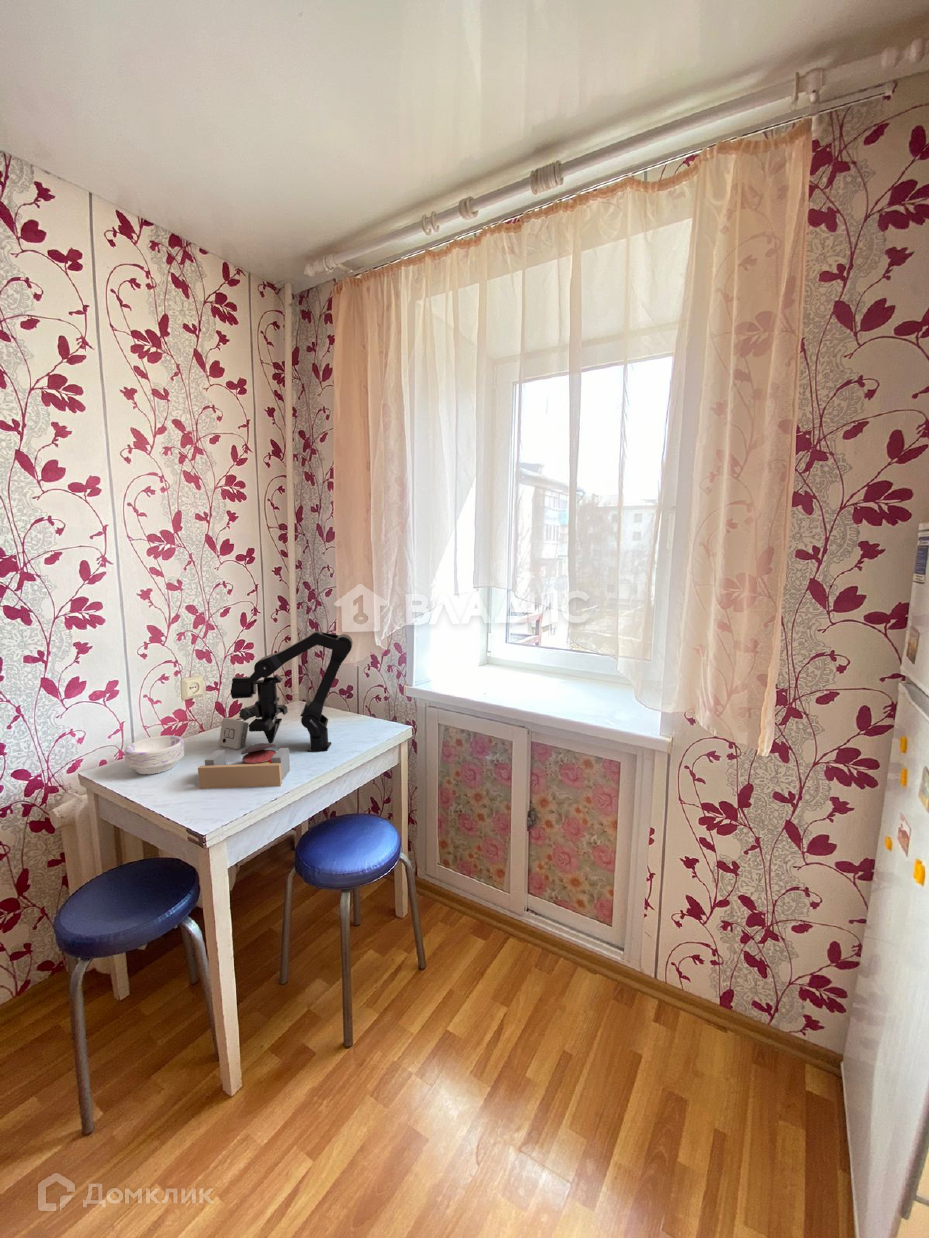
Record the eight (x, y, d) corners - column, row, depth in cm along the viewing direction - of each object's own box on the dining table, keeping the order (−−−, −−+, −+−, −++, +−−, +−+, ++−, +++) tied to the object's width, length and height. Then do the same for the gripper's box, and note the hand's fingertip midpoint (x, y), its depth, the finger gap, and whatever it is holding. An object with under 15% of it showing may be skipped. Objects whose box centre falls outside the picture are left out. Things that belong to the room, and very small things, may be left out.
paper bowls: (197, 761, 154) (194, 737, 153) (151, 782, 140) (149, 755, 139) (161, 755, 160) (159, 731, 158) (114, 775, 145) (111, 749, 144)
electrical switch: (218, 746, 167) (218, 718, 166) (231, 742, 171) (231, 715, 171) (237, 750, 163) (237, 722, 162) (250, 746, 167) (250, 719, 167)
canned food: (245, 785, 148) (226, 758, 146) (262, 767, 157) (245, 741, 156) (274, 771, 145) (255, 743, 144) (290, 753, 155) (273, 727, 153)
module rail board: (216, 772, 146) (214, 750, 145) (291, 770, 146) (290, 747, 145) (199, 788, 136) (197, 764, 135) (280, 785, 136) (278, 761, 136)
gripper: (253, 689, 167) (256, 733, 169) (229, 705, 149) (233, 755, 151) (286, 688, 168) (289, 732, 170) (266, 704, 149) (270, 754, 151)
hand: (270, 742), depth 160 cm, fingers closed
